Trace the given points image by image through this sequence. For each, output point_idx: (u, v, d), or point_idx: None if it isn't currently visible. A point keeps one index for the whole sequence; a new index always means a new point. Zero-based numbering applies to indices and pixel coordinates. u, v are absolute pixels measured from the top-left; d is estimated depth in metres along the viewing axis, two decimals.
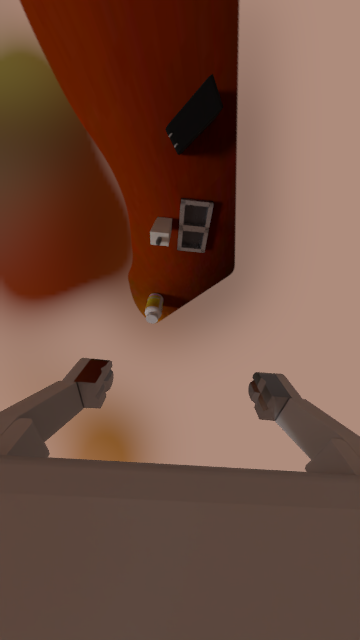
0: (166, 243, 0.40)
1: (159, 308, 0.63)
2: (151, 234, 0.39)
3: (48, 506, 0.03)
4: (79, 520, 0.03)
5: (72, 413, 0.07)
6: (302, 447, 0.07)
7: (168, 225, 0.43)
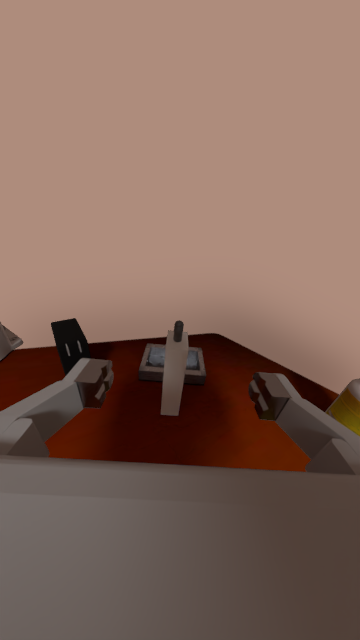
0: (183, 333, 0.24)
1: (347, 386, 0.26)
2: (170, 347, 0.21)
3: (48, 506, 0.03)
4: (79, 520, 0.03)
5: (72, 413, 0.07)
6: (302, 447, 0.07)
7: None
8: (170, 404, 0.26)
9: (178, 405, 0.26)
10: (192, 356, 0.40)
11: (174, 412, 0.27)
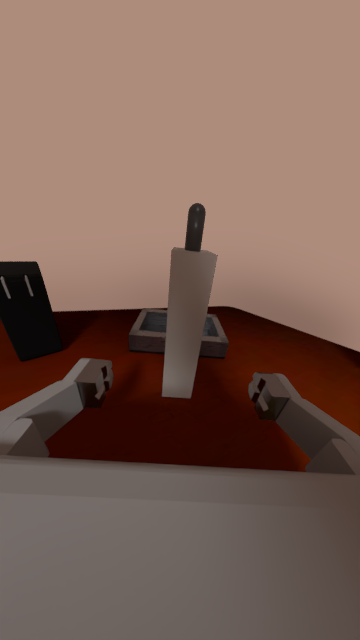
0: (201, 250, 0.14)
1: None
2: (181, 251, 0.11)
3: (48, 506, 0.03)
4: (79, 520, 0.03)
5: (72, 413, 0.07)
6: (302, 447, 0.07)
7: None
8: (178, 378, 0.15)
9: (192, 378, 0.15)
10: (204, 325, 0.29)
11: (184, 392, 0.16)
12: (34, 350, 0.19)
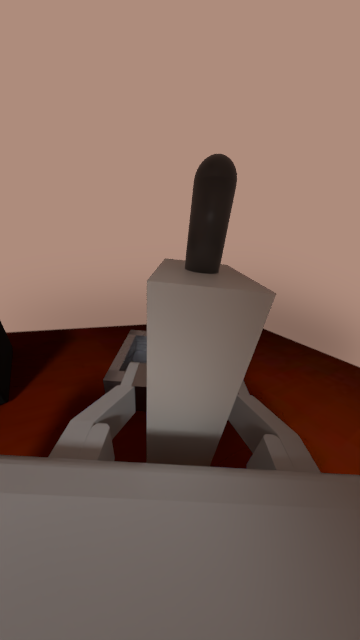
0: None
1: None
2: (175, 280, 0.04)
3: (48, 506, 0.03)
4: (79, 520, 0.03)
5: (128, 417, 0.07)
6: (247, 444, 0.07)
7: None
8: None
9: None
10: None
11: None
12: None
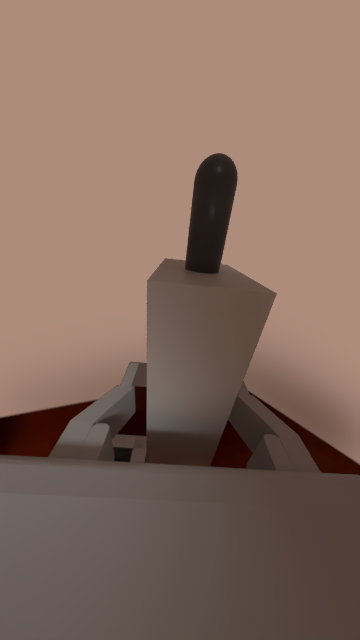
0: None
1: None
2: (175, 280, 0.04)
3: (48, 506, 0.03)
4: (79, 520, 0.03)
5: (128, 417, 0.07)
6: (247, 444, 0.07)
7: None
8: None
9: None
10: None
11: None
12: None
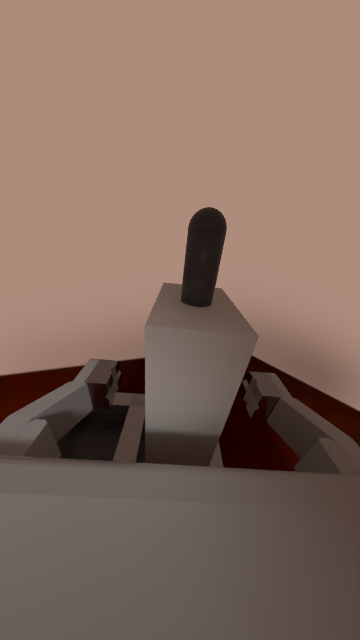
0: None
1: None
2: (170, 322, 0.04)
3: (48, 506, 0.03)
4: (79, 520, 0.03)
5: (83, 414, 0.07)
6: (292, 446, 0.07)
7: None
8: None
9: None
10: None
11: None
12: None
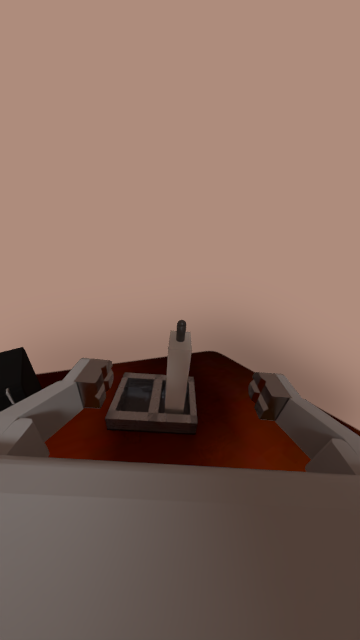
0: (186, 333, 0.24)
1: None
2: (173, 347, 0.21)
3: (48, 506, 0.03)
4: (79, 520, 0.03)
5: (72, 413, 0.07)
6: (302, 447, 0.07)
7: None
8: (174, 406, 0.25)
9: (182, 406, 0.25)
10: None
11: None
12: None
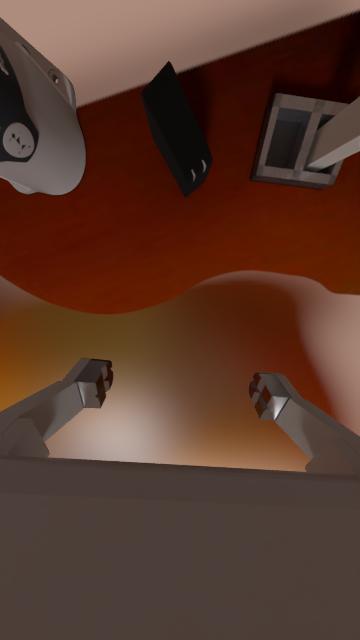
0: None
1: None
2: None
3: (48, 506, 0.03)
4: (79, 520, 0.03)
5: (72, 413, 0.07)
6: (302, 447, 0.07)
7: (356, 104, 0.20)
8: (320, 164, 0.26)
9: (329, 165, 0.26)
10: None
11: (316, 169, 0.28)
12: (192, 191, 0.29)
